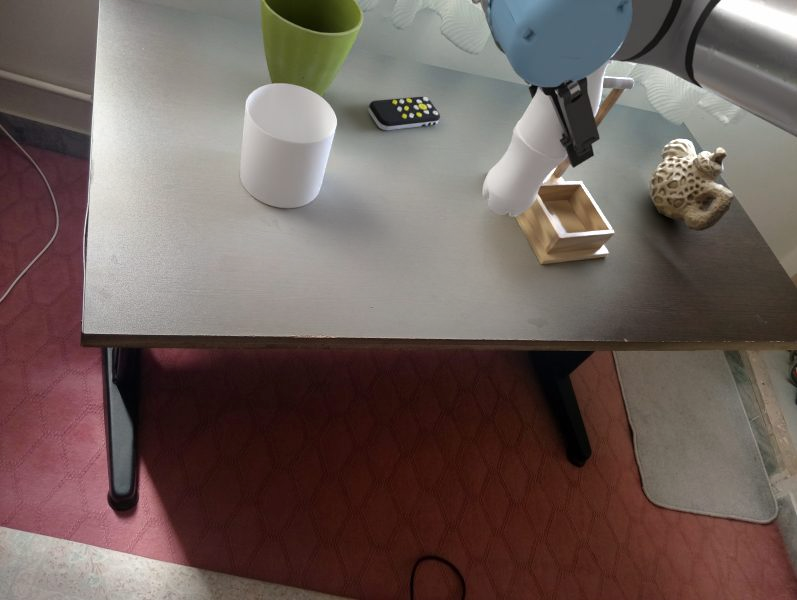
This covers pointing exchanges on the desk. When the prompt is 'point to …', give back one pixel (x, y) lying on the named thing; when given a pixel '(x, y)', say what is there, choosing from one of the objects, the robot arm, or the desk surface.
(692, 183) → the teapot
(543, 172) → the water bottle
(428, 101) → the remote control
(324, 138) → the cup
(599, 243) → the rack
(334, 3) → the flower pot
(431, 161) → the desk surface
